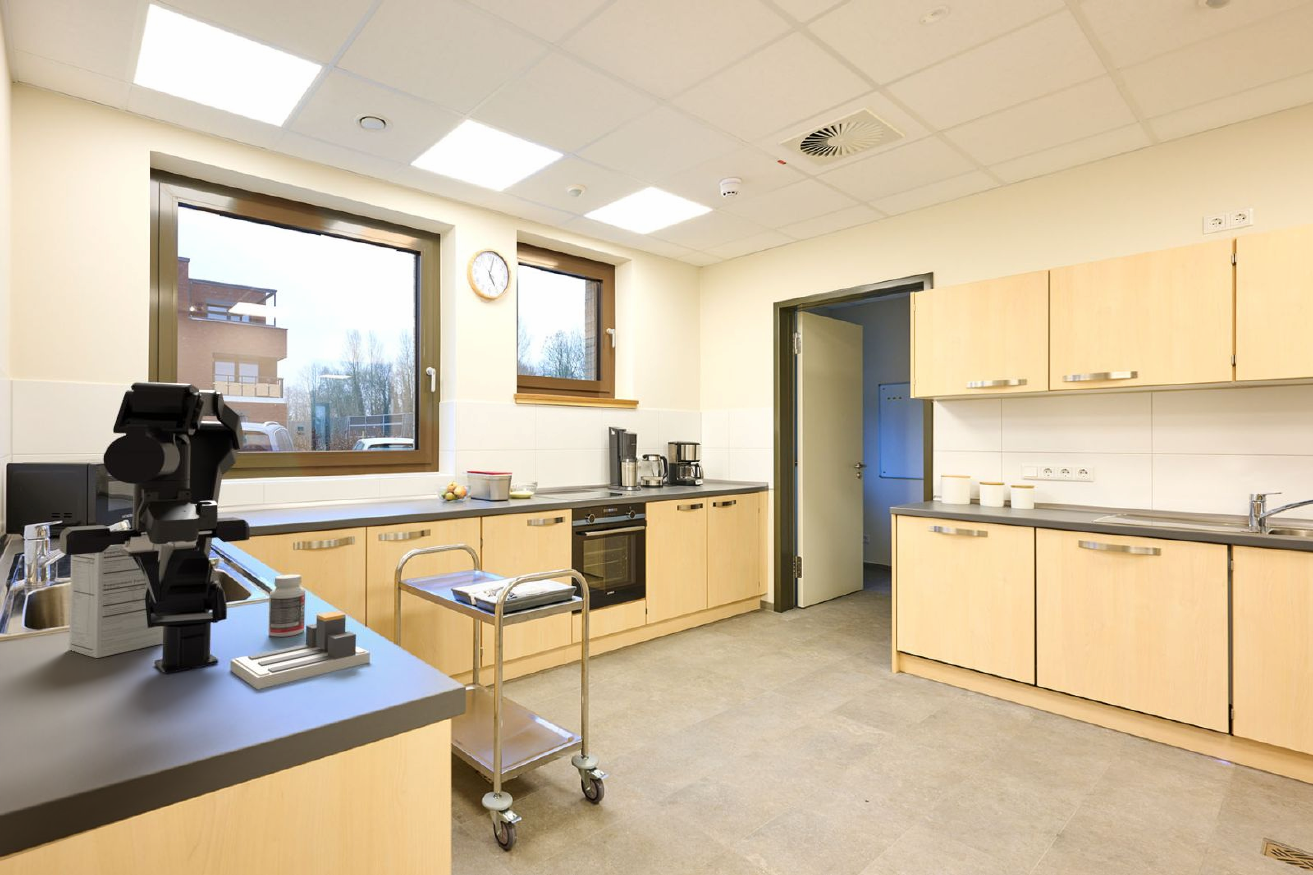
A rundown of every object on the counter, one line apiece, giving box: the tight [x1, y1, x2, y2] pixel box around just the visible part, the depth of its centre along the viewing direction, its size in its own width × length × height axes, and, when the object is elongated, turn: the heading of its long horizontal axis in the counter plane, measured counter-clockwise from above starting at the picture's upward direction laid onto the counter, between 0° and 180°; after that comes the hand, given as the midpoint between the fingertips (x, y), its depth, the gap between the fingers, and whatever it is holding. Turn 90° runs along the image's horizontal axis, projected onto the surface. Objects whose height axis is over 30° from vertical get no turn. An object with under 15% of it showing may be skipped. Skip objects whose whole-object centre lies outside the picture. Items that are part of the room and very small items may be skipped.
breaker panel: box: [229, 623, 371, 690], centre depth 95 cm, size 11×15×4 cm
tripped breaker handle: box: [315, 610, 347, 650], centre depth 98 cm, size 3×3×5 cm
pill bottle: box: [268, 574, 306, 638], centre depth 112 cm, size 5×5×10 cm
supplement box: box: [68, 544, 165, 659], centre depth 104 cm, size 10×9×17 cm
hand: (158, 602), depth 83 cm, fingers closed
